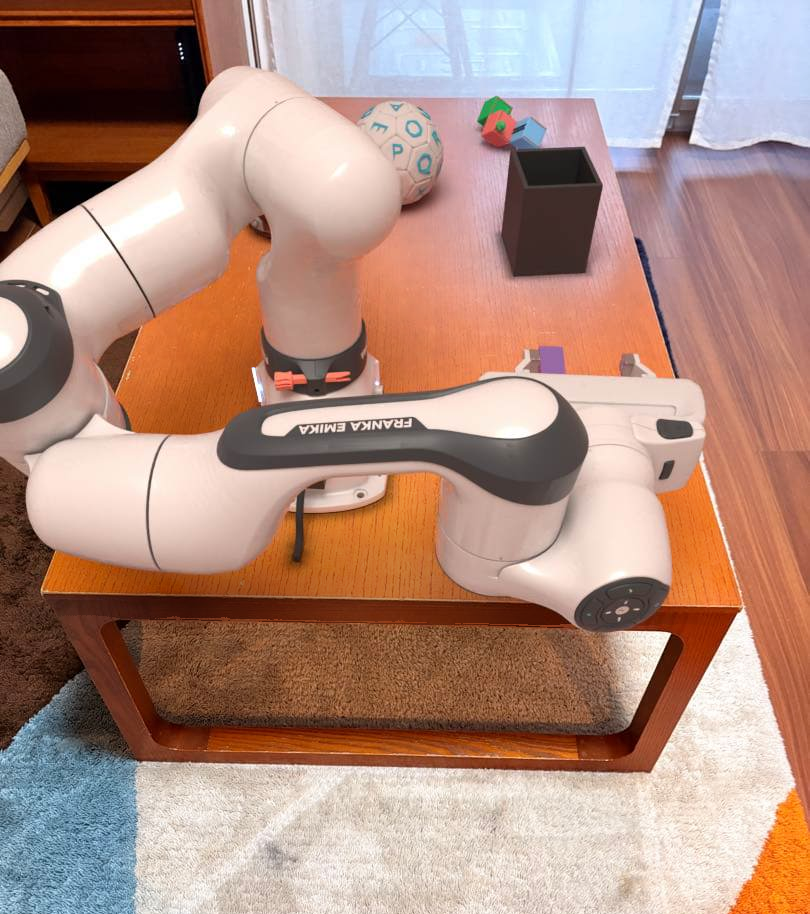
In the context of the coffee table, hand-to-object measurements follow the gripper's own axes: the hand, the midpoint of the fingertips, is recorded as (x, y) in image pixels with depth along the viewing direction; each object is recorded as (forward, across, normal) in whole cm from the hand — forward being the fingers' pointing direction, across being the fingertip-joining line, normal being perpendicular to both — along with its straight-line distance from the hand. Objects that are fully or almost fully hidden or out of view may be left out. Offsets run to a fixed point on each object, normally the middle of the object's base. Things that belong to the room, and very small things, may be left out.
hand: (579, 356), depth 79 cm
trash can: (+51, +3, -20) cm, 55 cm away
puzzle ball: (+66, -20, -20) cm, 72 cm away
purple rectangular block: (+12, 0, -21) cm, 24 cm away
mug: (+57, -38, -20) cm, 71 cm away
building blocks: (+86, 0, -19) cm, 88 cm away
